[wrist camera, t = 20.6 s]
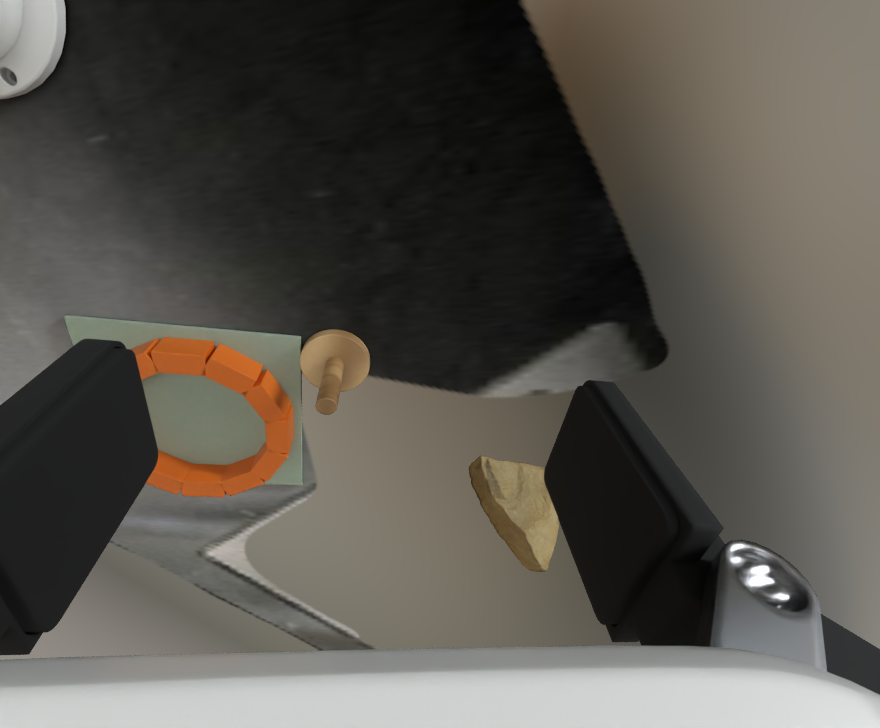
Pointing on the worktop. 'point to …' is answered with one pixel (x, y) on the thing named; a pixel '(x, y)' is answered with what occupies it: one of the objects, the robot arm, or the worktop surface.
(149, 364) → the ring
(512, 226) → the worktop surface
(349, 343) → the wooden peg disc
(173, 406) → the mat
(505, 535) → the rock
